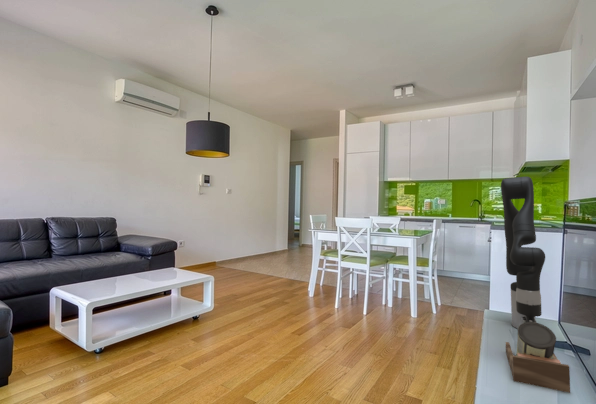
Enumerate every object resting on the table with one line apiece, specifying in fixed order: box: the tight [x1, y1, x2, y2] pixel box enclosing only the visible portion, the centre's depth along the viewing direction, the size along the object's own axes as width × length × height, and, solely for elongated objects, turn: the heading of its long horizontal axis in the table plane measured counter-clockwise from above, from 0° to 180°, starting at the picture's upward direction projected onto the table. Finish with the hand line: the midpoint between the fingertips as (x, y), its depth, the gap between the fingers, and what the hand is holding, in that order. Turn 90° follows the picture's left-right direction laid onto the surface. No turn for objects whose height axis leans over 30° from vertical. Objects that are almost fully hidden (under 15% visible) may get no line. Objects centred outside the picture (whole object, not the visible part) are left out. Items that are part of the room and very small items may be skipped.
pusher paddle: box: [518, 353, 562, 364], centre depth 101 cm, size 2×11×8 cm, turn 61°
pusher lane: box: [505, 341, 571, 393], centre depth 109 cm, size 23×14×8 cm, turn 152°
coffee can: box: [515, 322, 557, 359], centre depth 107 cm, size 10×10×14 cm
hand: (529, 347), depth 115 cm, fingers closed
